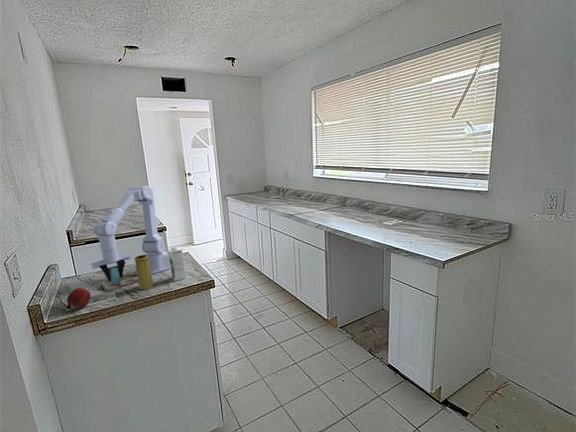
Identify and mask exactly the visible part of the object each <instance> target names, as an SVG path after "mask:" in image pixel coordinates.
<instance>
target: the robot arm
mask: <svg viewBox="0 0 576 432" xmlns="http://www.w3.org/2000/svg"><path fill="white" fill-rule="evenodd" d="M153 193H154V191H153V189H152V188H151V187H150V186H149V185H141V186H140V185H139V186H137V185H136V186H132V185H131V186H129V187H127V189H126V190H125V193H124V194H125V195H124V196H123V197H122V199H121V200H120V202H119V203H118V204H117V206H116V208H114V207H113V208H110V209H109V210H108V213H107V214H106V215H105V216H104V218H102V219H101V221H100V222H97V223H96V224H95V226H94V228H93V233H94V234H95V236H96V237H97V240H98V242H99V246H100V251H101V255H102V259H101V260H98V261H96V262H93V263H91V264H90V265H91V268H92V270H94V269H98V268H99V269H100V270H101V271H102V272H103V274H104V275H105V276H106V279H107V280H108V281H109V282H110V281H111V279H110V275H109V269H108V268H109V267H108V265H111V264H116V266H118V268H119V273H120V277H121V278H123V275H124V268H125V265H126V260H131V259H132V257H131V254H129V253H127V254H122V255H119V251H118V247H117V242H116V236H115V233H117V229H118V225H119V224H120V222H121V221H122V220H123V219H124V217H125V214H124V213H125V211H126V210H127V209H128V208H129V207H130V206H131V205H132V204H133V203H134V202H138V203H139V204H140V205H142V211H143V221H144V229H145V236H144V237H143V238H142V245H141V249H142V251H143V252H144V253H145V255H147V256H148V261H149V266H150V271H151V274H156V273H158V272H163V271H165V270H168V269H170V270H171V268H170V261H169V253H168V252H167V251H166V250H165V249H166V245H165V244H166V243H165V242H164V238H163V237H162V236H161V235H160V234H159V233H158V225H157V224H158V223H157V218H156V217H157V216H156V206H155V199H154V194H153Z"/></svg>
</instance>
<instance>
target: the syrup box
mask: <svg viewBox="0 0 576 432" xmlns="http://www.w3.org/2000/svg"><path fill="white" fill-rule="evenodd" d="M167 251H168V252H167V254H168V258H169V264H170V274H171V279H172V281H173V282H177V281H181V280H185V279H187V276H186V269H185V262H184V261H185V260H184V255H183V249H182V248H181V246H177V247H172V248H168V249H167Z"/></svg>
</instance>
